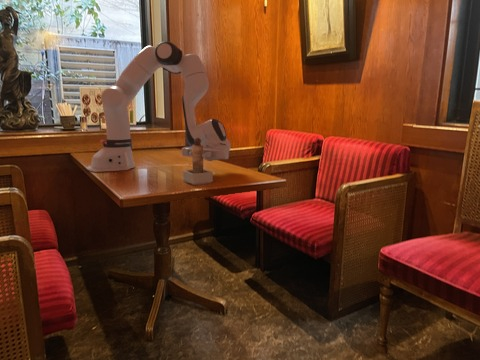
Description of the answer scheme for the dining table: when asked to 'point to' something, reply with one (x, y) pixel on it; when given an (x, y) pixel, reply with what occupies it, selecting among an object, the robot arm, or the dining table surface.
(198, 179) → the box
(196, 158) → the pepper mill
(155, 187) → the dining table surface
